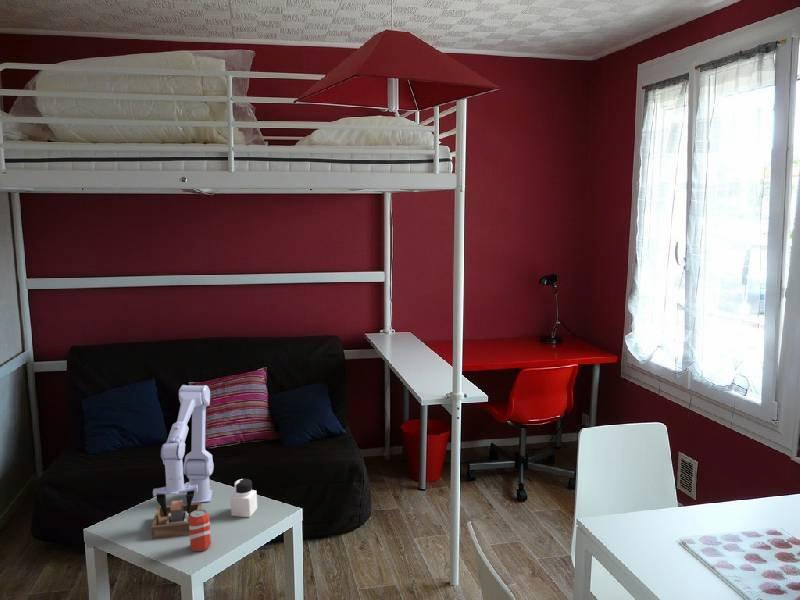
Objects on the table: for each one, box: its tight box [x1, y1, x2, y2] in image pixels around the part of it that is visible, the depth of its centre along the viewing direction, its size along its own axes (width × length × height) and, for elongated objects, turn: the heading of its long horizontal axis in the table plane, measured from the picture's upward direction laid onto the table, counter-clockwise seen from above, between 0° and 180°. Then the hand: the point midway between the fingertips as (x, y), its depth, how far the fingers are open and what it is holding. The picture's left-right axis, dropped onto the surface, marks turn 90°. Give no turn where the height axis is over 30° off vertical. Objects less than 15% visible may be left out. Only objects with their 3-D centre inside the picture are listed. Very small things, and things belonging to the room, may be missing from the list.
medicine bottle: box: [230, 478, 258, 518], centre depth 239 cm, size 7×7×12 cm
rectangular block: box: [170, 499, 184, 522], centre depth 230 cm, size 5×4×7 cm
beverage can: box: [189, 508, 212, 552], centre depth 215 cm, size 6×6×12 cm
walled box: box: [150, 502, 203, 540], centre depth 231 cm, size 15×15×4 cm
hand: (177, 513), depth 230 cm, fingers open, 7 cm apart
